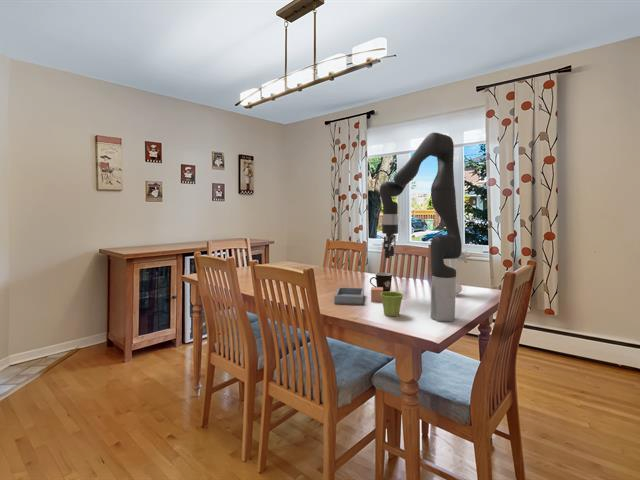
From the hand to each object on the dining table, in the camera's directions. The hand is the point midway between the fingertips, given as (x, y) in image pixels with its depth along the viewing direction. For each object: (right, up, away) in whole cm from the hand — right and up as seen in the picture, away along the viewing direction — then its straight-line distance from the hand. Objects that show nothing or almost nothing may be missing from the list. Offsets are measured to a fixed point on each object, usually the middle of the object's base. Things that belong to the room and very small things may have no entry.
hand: (389, 257), depth 172 cm
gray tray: (-19, -21, 0) cm, 28 cm away
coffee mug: (-2, -20, +14) cm, 24 cm away
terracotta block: (-7, -21, -2) cm, 22 cm away
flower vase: (+34, -20, +10) cm, 40 cm away
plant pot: (-4, -23, -24) cm, 34 cm away
